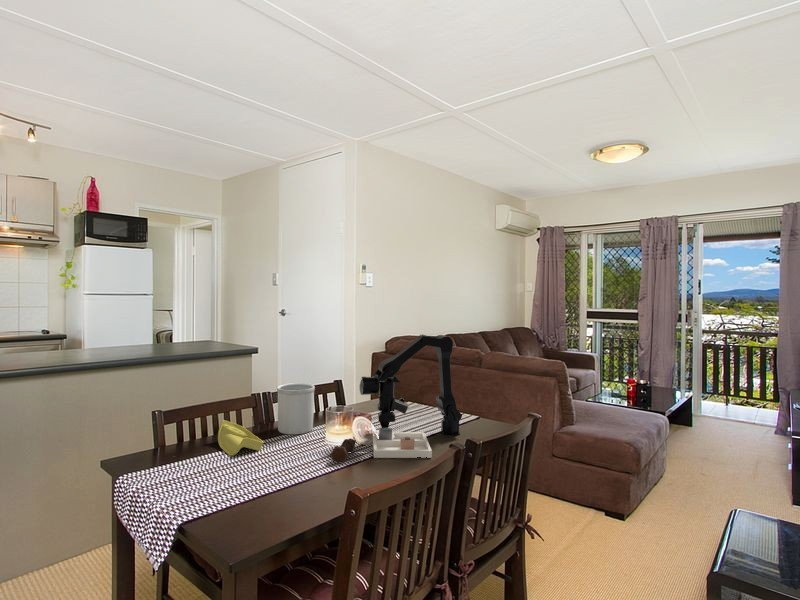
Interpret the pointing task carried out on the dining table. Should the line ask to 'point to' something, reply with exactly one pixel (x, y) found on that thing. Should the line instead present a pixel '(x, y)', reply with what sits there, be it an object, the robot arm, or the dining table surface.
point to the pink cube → (407, 443)
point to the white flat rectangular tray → (393, 446)
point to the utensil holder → (295, 408)
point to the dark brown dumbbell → (343, 450)
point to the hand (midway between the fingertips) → (385, 433)
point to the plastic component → (236, 438)
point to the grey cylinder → (385, 433)
